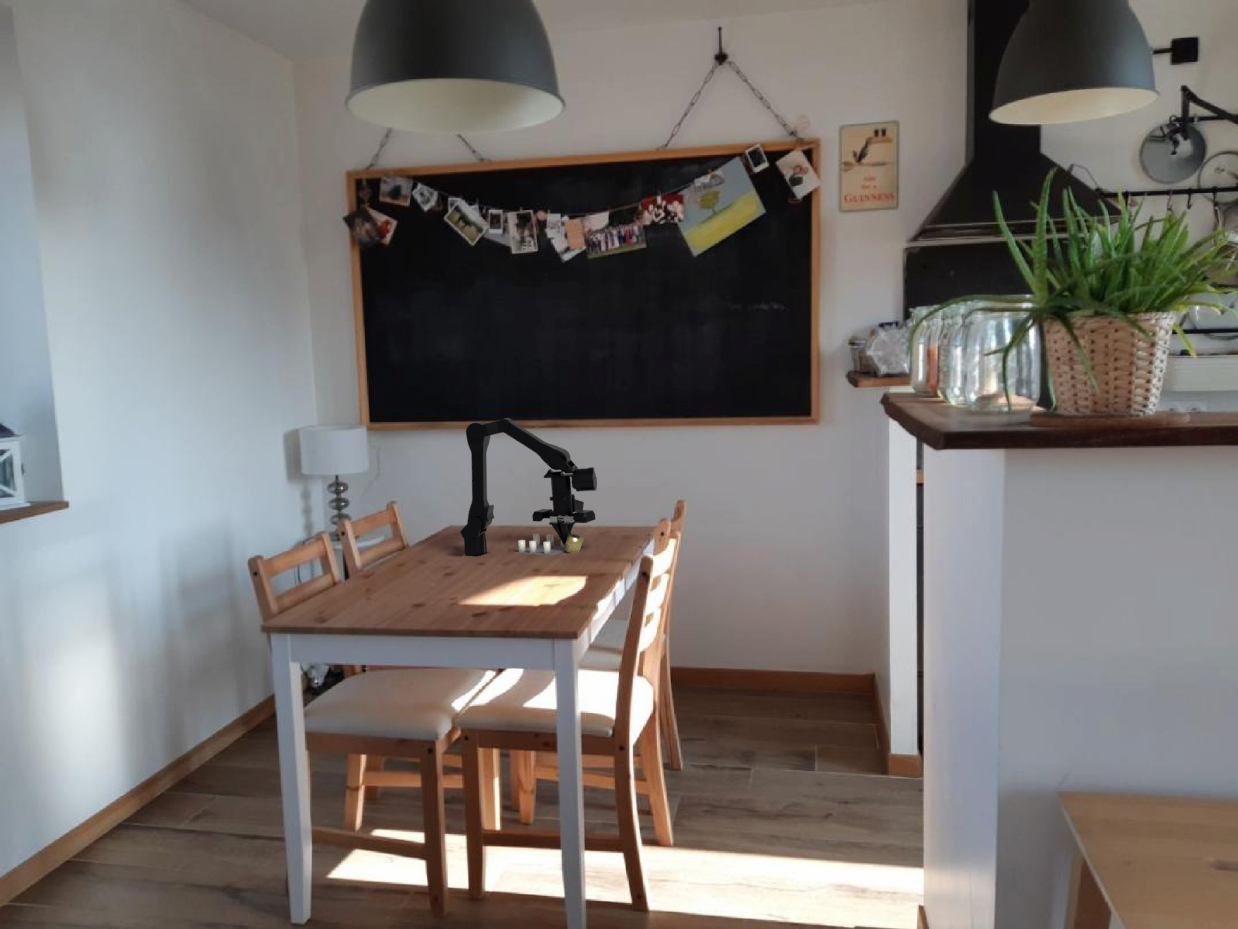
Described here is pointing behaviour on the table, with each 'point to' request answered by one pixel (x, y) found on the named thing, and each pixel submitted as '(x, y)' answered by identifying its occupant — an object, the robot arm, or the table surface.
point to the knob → (573, 542)
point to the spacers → (538, 544)
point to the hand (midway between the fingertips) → (565, 544)
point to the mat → (540, 550)
